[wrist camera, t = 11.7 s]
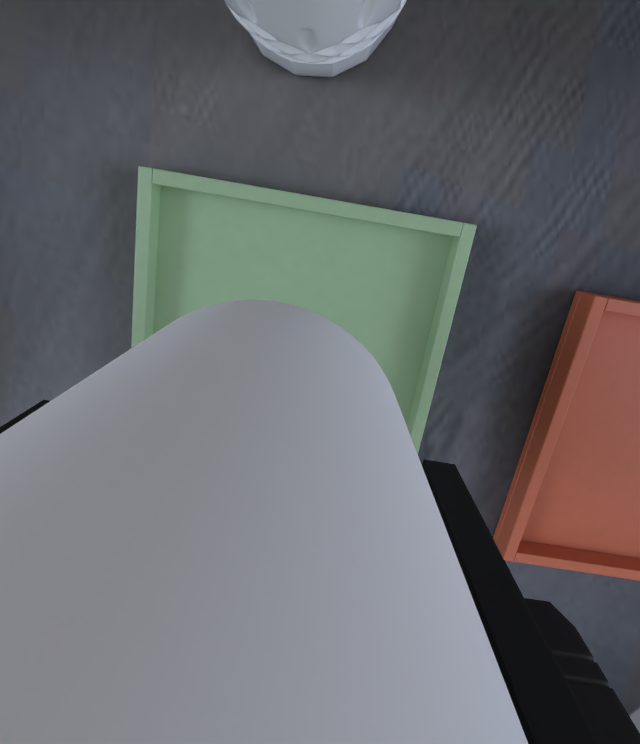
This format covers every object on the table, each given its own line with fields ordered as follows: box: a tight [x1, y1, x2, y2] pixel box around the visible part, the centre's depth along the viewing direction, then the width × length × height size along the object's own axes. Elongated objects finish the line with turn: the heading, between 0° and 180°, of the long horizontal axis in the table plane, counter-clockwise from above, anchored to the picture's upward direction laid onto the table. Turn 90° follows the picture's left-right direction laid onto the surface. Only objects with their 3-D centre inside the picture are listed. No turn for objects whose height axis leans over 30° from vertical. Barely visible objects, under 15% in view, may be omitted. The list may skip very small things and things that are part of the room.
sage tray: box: [131, 166, 477, 454], centre depth 22 cm, size 14×14×2 cm
